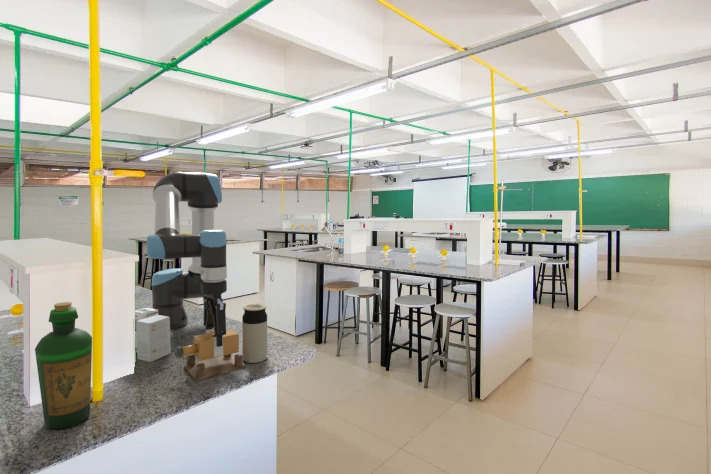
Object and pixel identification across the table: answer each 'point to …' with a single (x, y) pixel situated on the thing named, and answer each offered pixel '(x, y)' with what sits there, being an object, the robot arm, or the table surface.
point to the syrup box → (143, 314)
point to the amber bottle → (209, 346)
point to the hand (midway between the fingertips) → (214, 352)
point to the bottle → (64, 369)
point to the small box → (153, 337)
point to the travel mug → (254, 333)
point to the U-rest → (213, 366)
